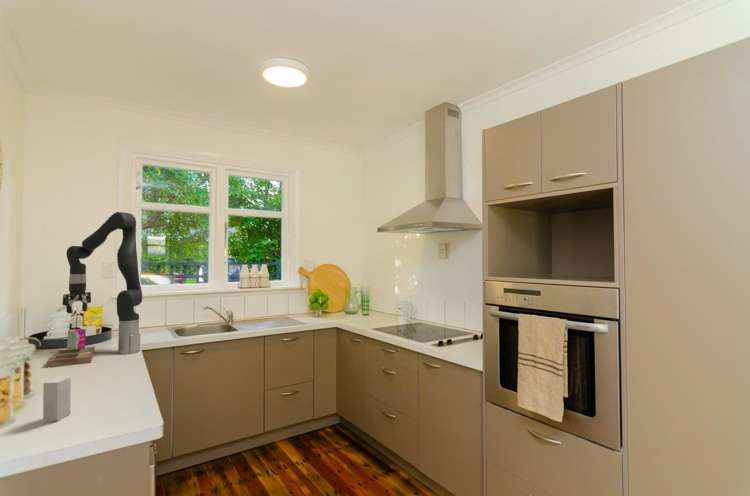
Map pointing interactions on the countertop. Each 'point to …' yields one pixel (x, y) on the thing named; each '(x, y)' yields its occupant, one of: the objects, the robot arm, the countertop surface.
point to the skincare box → (56, 399)
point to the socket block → (71, 357)
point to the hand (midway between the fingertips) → (76, 312)
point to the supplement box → (76, 338)
